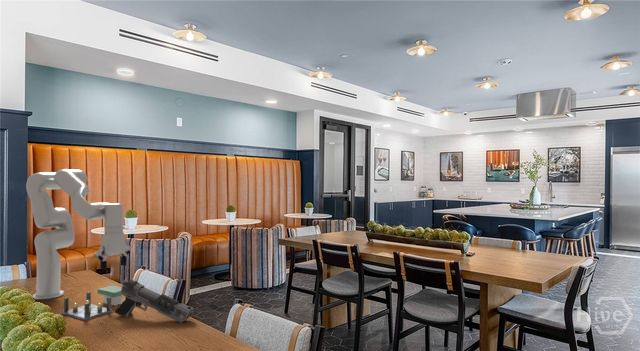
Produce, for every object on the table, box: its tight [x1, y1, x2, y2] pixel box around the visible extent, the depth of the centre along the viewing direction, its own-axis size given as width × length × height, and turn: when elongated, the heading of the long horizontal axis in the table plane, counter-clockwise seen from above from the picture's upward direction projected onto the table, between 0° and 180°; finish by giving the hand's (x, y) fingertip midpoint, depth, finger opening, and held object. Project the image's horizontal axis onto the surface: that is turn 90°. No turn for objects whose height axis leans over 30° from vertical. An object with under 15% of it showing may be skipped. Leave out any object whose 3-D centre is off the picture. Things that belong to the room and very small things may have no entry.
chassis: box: [61, 291, 114, 321], centre depth 169 cm, size 16×12×6 cm
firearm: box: [114, 279, 195, 323], centre depth 163 cm, size 4×33×15 cm, turn 78°
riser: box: [102, 295, 123, 307], centre depth 182 cm, size 8×4×4 cm, turn 61°
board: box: [97, 285, 124, 297], centre depth 183 cm, size 12×7×2 cm, turn 61°
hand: (113, 267), depth 182 cm, fingers open, 9 cm apart
